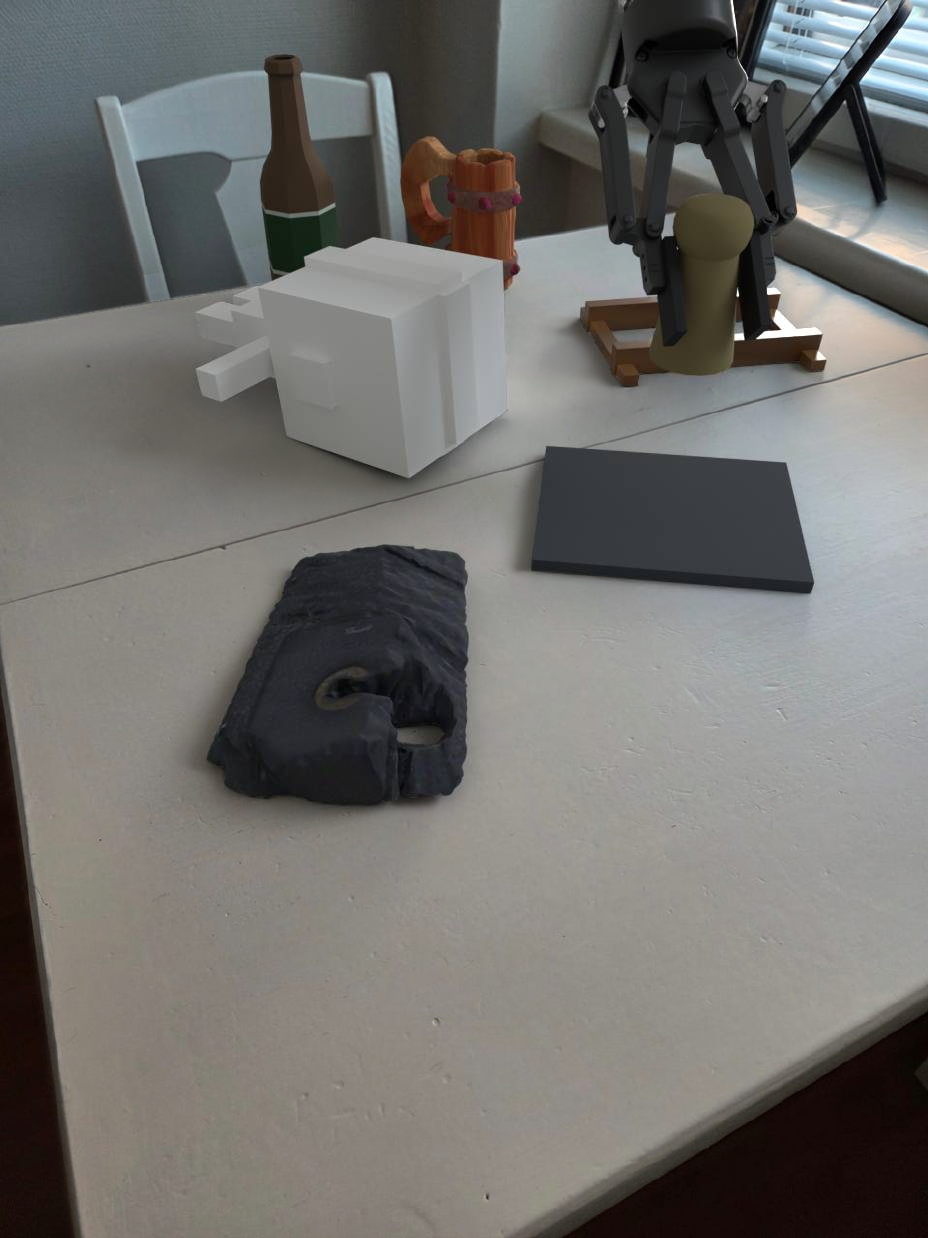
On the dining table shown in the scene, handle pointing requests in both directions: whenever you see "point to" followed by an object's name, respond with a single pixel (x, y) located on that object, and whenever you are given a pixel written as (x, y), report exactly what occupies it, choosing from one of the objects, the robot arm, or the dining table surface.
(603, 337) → the rack
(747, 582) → the mat
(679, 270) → the robot arm
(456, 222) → the mug
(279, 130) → the beer bottle
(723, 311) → the olive pawn
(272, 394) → the dining table surface
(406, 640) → the folded black garment
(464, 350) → the white voxel figure
